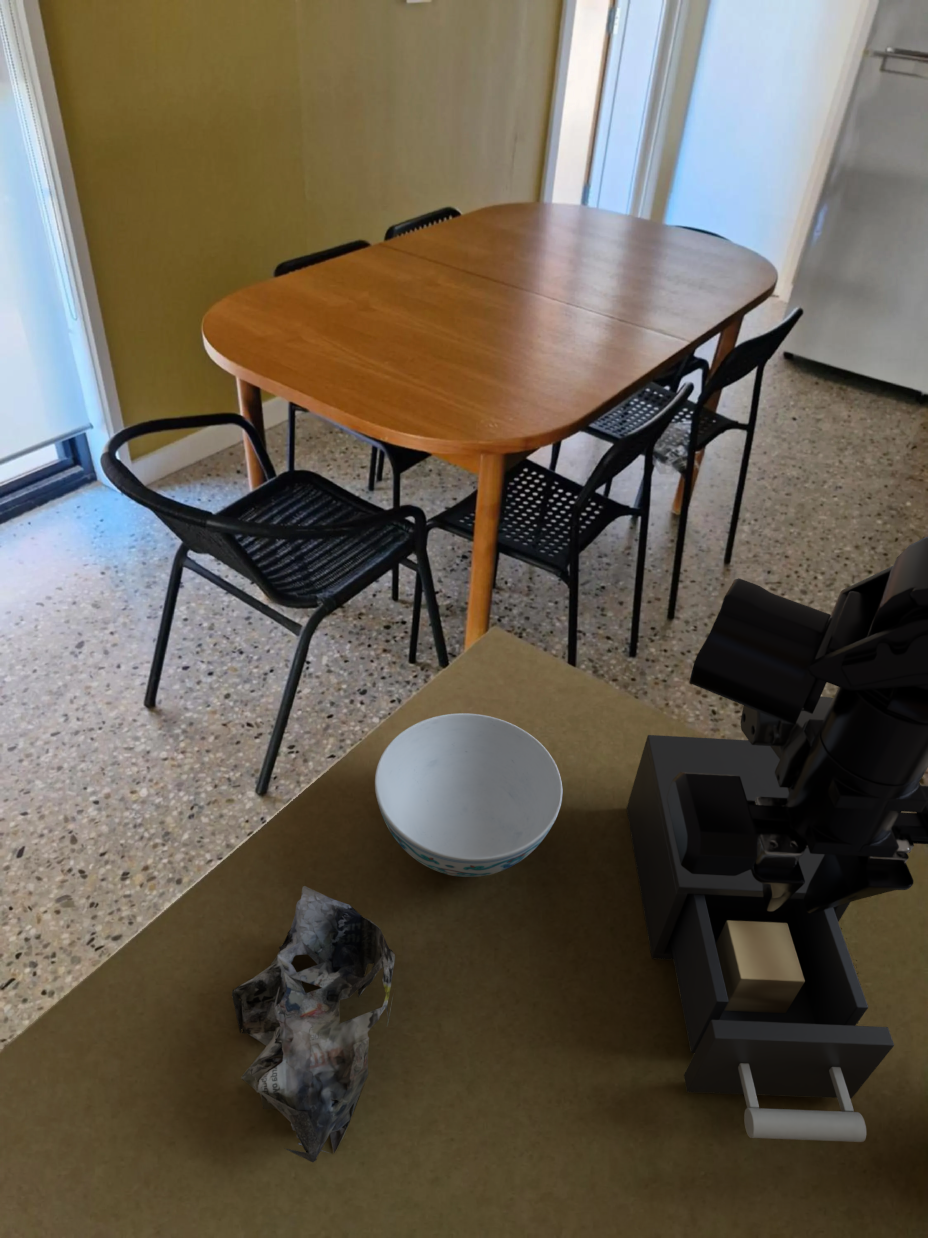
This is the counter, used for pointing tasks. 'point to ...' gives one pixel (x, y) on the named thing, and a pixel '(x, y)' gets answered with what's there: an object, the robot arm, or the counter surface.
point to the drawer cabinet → (655, 836)
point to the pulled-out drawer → (777, 1022)
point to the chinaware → (467, 793)
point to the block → (759, 966)
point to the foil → (314, 1020)
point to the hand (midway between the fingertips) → (787, 906)
